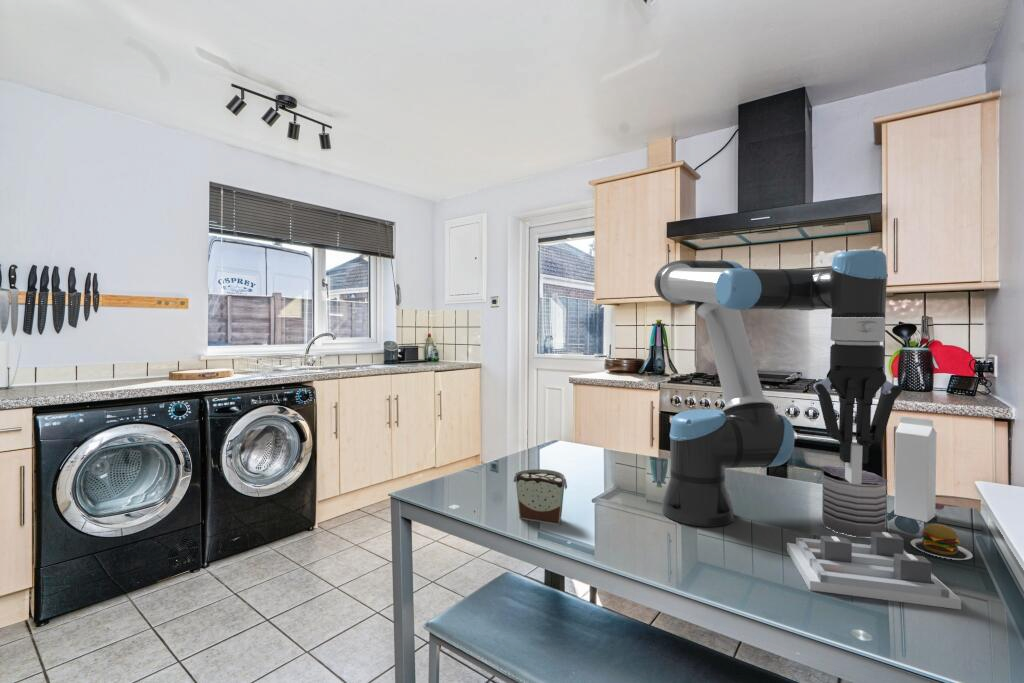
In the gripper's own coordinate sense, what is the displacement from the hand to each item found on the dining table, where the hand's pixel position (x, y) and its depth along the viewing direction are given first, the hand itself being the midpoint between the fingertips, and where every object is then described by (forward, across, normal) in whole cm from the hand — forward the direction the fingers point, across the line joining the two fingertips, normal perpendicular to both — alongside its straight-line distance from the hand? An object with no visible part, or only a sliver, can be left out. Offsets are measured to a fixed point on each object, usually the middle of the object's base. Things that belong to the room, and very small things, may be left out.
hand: (853, 481), depth 85 cm
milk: (+17, +25, +34) cm, 45 cm away
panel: (+16, +2, -1) cm, 16 cm away
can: (+17, +8, +22) cm, 29 cm away
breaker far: (+14, +7, +3) cm, 16 cm away
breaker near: (+14, +6, -6) cm, 16 cm away
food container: (+17, -56, +13) cm, 60 cm away
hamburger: (+17, +20, +14) cm, 30 cm away
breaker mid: (+14, -3, -1) cm, 14 cm away
